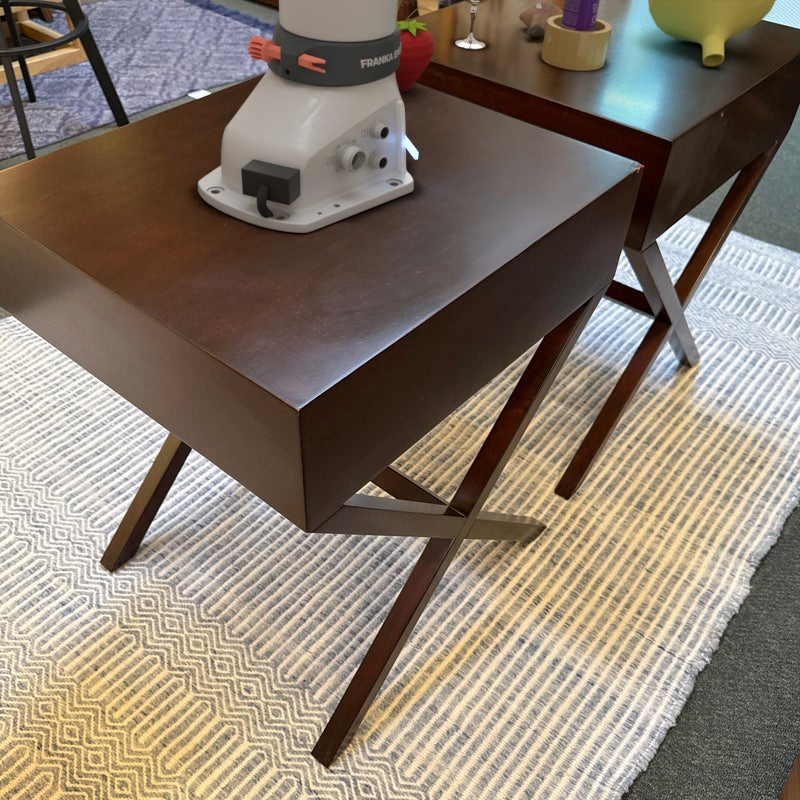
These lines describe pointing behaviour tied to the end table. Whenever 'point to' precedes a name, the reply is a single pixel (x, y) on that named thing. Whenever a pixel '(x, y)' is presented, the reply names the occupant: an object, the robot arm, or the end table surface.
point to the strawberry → (413, 52)
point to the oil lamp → (538, 18)
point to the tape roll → (575, 45)
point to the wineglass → (470, 41)
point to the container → (580, 15)
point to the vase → (708, 21)
